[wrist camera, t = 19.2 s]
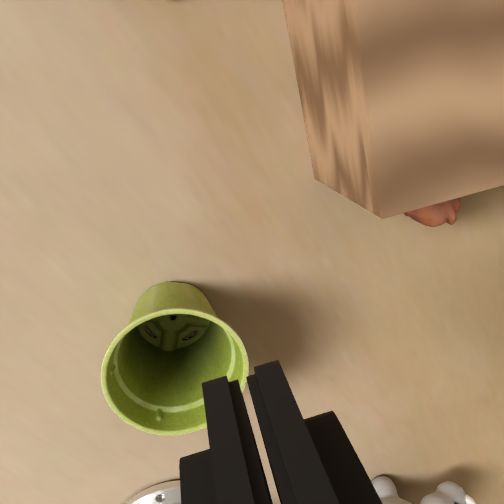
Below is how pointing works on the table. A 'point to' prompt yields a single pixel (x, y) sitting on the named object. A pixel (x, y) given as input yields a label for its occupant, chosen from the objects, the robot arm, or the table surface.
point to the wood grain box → (401, 97)
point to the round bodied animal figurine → (442, 500)
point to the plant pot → (170, 361)
